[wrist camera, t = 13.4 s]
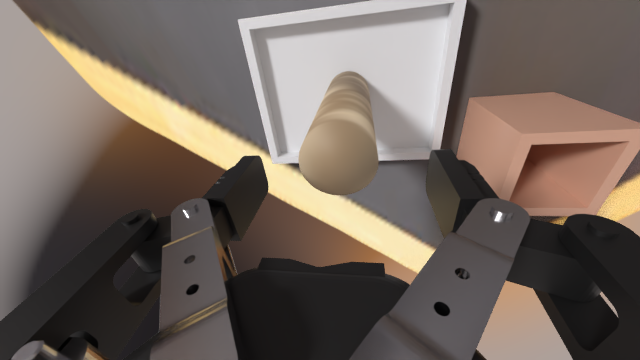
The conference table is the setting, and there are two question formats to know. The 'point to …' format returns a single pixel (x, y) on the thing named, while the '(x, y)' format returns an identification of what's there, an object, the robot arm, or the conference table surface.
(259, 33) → the tray
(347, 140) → the dowel pin
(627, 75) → the conference table surface
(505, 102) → the pink open-ended box
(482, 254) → the robot arm
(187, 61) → the conference table surface
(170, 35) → the conference table surface
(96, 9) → the conference table surface
